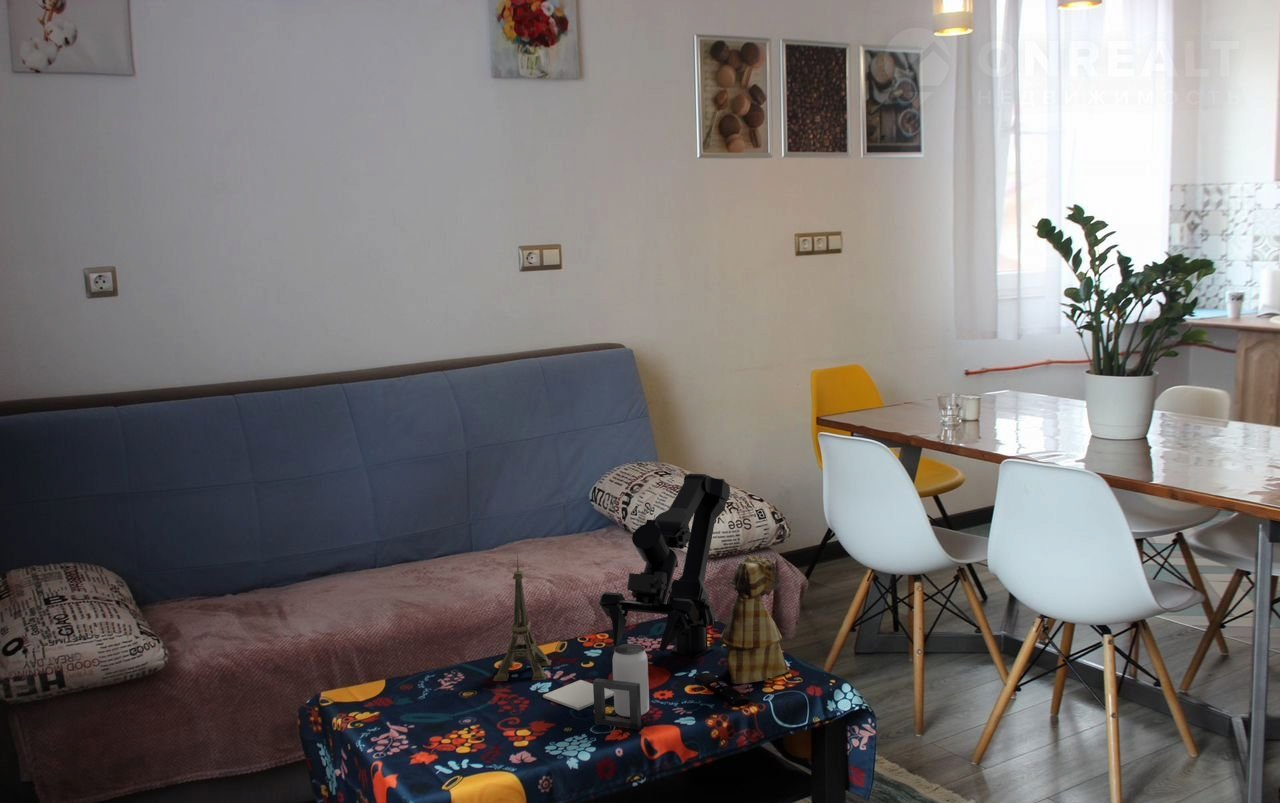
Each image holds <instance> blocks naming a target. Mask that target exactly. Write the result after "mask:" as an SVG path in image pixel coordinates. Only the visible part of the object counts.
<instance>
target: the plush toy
mask: <svg viewBox="0 0 1280 803" xmlns="http://www.w3.org/2000/svg"><path fill="white" fill-rule="evenodd" d="M738 564H739V565H738V566H737V568H736V570H735V572H734V575H733V578H732V580H731V581H729V582H728V583H727V585H733V586H734V587H733V590H734V592H737V594H738V595H737V596H736V599H735V602H734V603H733V607H732V609H731V612H730V615H729V617H728V620H727V623H726V624H725V626H724V628H723V631H722V633H721V634H720V636H719V640H720V641H721V642H722V643H723V644H724V646H726V647H727V649H728V650H727V655H726V656H727V658H726V666H727V669H728V672H729V676H730V683H731V684H733V685H737V684H740V685H743V684H748V683H754V682H755V683H756V682H763V681H766V680H769V679H768V678H770V679H772V678H771V677H773V678H775V677H777V676H781V675H783V674H787V673H788V672H790V667H788V665H787V662H786V659H785V658H784V654H783V652H782V648H781V645H780V641H781V640H783V637H782V636H783V635H781V632H780V631H779V628H778V626H777V625H776V622H775V621H774V619H773V617H772V616H771V614H770V613H769V611H768V610H767V609H766V606H765V605H764V602H763V600H762V597H763V596H765V595H767V596H768V597H770V595H771V593H772V591H777V592H778V591H779V587H780V586H781V582H782V581H781V579H780V578H781V577H782V575H781V574H780V575H779V572H777V571H776V569H777V567H776V563H774V562H773V561H772V560H771V559H768V558H764V557H762V555H759V556H757V555H746V558H745V559H744V560H742V561H740V563H738Z"/></svg>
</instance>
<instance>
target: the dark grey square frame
mask: <svg viewBox="0 0 1280 803" xmlns="http://www.w3.org/2000/svg"><path fill="white" fill-rule="evenodd" d="M592 684H593V693H594V704H593V712H594V724H595V725H602V726H609V727H616V728H617V727H618V728H624V729H625V728H626V729H632V730H639V729H640V728H642V716H641V702H640V683H632V682H624V681H616V680H613V679H605V678H599V677H597V678H595V679H594V680H593V681H592ZM604 688H607V689H610V690H614V689H618V690H626V691H629V704H630V717H629V719H628V718H625V717H617V716H616V717H614V716H607V715H606V699H605V691H604Z"/></svg>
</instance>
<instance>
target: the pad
mask: <svg viewBox="0 0 1280 803" xmlns="http://www.w3.org/2000/svg"><path fill="white" fill-rule="evenodd" d="M604 691H605V700H607V699H608V698H612V697H614V689H610V688H604ZM542 698H543V699H545V700H549V701H552V702H554V703H557V704H560V705H563V706H565V707H568V708H571V709H574V710H576V711H580V710H583V709H585V708H587V707H590V706H594V693H593V682H592V683H591V682H588V681H586V680H582V679H579V680H576V681H574V682H572V683H569V684H567V685H565V686H561V687H560V688H557V689H554V690H552V691H549V692H547V693H544V694H543V695H542Z"/></svg>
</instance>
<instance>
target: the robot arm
mask: <svg viewBox="0 0 1280 803" xmlns="http://www.w3.org/2000/svg"><path fill="white" fill-rule="evenodd" d="M730 488H731V486H730V484H729V483H728V482H726V480H725V479H724V478H715V477H713V476H710V475H707V474H706V473H688V474H685V476H684V478H683V484H682V486H681V487H680V489H679V490H678V492H677V495H676V496H675V497H674V500H673V501H672V503H671V505H670V506H669V509H668V510H665V511H663V512H661V513H659V514H658V515H657V516H656V517H655V518H654V519H646V522H645V524H642V525H640V526H639V527H637V528H636V529H635V530H634V532H633V533H632V535H631V539H632V544H633V545H634V547H635V549H636V550H637V553H638V554H639V556H640V558H641V560H642V561H643V562H645V567H644V570H643V572H640V573H634V572H633V573H632V572H631V573H629V574H628V581H627V586H626V587H627V588H626V589H627V591H631V596H632V598H634V599H635V600H626V599H625V597H624V596H623V593H621V592H612V591H611V592H609V591H605V592H604V593H602V595H600V599H599V601H598V605H599V606H600V607H601V609H602V610H603V612H604V614H605V615H606V616H607V617H608V618H610V620H611V623H612V634H613V635H612V638H613V646H614V648H616V647H617V646H620V643H621V640H622V637H623V635H624V632H625V628H626V626H627V625H626V624H627V622H628V620H627V619H626V617H627V616H628V615H629V614H628V613H629V612H633V613H634V612H635V613H645V614H646V613H647V614H658V615H667V620H666V624H665V629H664V631H663V634H662V637H661V639H660V644H659V652H660V653H664V651H665V650H666V649H667V648H668V647H669V646H670V645H671V643H672V642H673V641H674V640H675V642H676V644H675V645H676V646H675V647H673V648H672V649H671V652H672V653H675V654H680V655H682V656H686V657H690V658H697V657H700V656H702V655H705V654H707V653H709V652H711V651H714V646H713V647H712V646H709V644H708V627H712V626H714V625H715V622H714V621H715V609H714V608H713V606H712V604H711V602H710V601H709V599H710V595H709V593H708V590H707V587H706V585H705V577H706V573H707V572H706V571H707V566H708V560H709V556H710V555H709V554H710V550H711V544H712V540H713V535H714V528H715V522H716V520H717V519H718V518H719V516H720V515H721V514H723V512H724V511H725V509H726V506H727V501H728V500H729V498H730V496H731V495H730V494H731V489H730ZM691 520H692V524H691V527H690V522H691ZM686 546H687V550H686V555H685V559H684V564H683V570H682V575H681V576H680V577H679V578H678V579H673V577H674V574H675V570H676V568H678V567H679V561H678V556H677V555H676V553H675V551H674V550H672V549H675V550H676V549H678V550H679V549H680V550H683V549H684V548H686Z"/></svg>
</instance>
